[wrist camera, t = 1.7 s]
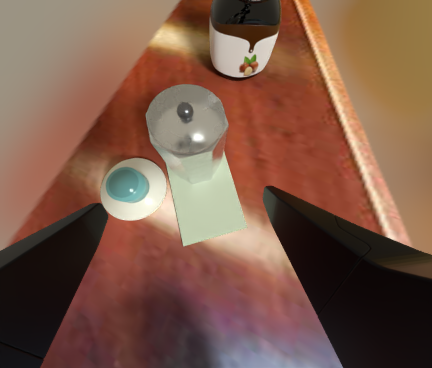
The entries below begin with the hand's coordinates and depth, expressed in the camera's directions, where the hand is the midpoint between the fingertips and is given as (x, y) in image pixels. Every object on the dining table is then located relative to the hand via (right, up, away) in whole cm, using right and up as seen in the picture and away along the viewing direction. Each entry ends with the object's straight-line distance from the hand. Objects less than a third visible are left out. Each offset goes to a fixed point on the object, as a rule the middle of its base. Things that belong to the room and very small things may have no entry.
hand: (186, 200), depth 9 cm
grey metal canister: (-1, +5, +15) cm, 15 cm away
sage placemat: (0, +1, +14) cm, 14 cm away
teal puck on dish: (-10, 0, +14) cm, 17 cm away
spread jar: (+6, +25, +20) cm, 33 cm away
